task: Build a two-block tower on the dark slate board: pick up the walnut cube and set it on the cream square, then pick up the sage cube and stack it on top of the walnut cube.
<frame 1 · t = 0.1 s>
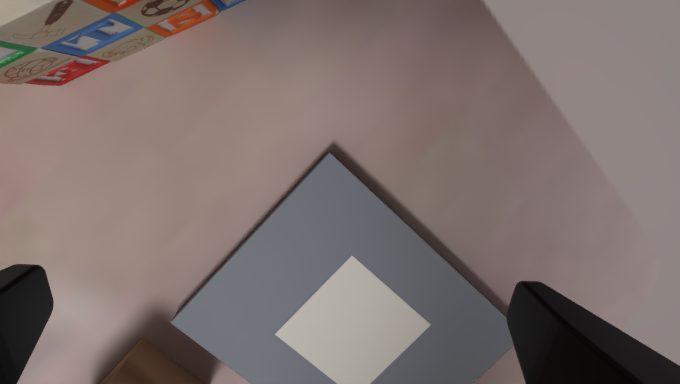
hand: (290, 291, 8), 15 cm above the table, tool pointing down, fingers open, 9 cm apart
blueprint board: (352, 320, 25), on the table
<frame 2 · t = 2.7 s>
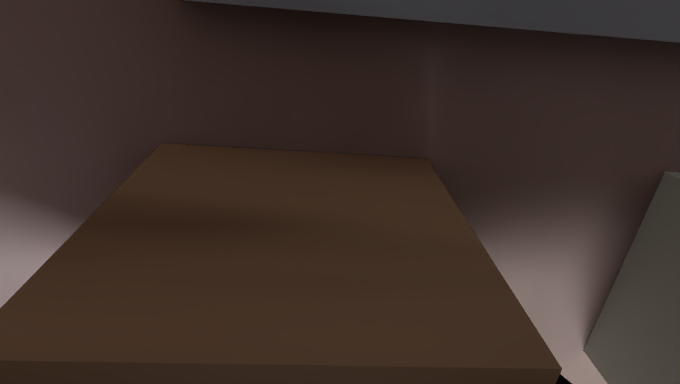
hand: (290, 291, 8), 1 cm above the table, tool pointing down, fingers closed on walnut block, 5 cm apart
walnut block: (293, 259, 9), on the table, touching gripper
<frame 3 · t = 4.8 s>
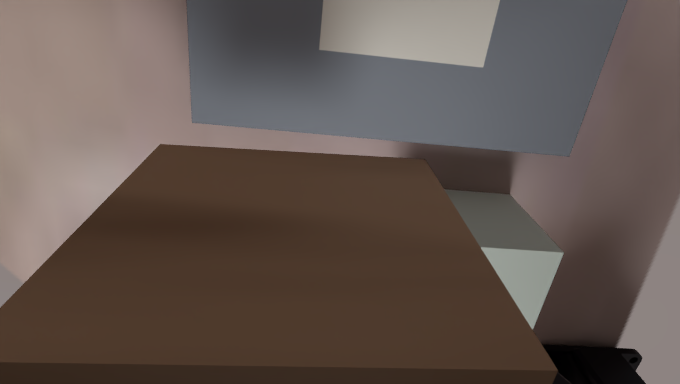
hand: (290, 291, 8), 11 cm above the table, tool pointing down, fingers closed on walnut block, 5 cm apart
walnut block: (292, 260, 9), point 10 cm above the table, touching gripper
sage block: (447, 234, 21), on the table
when the fingers open (3 cm above the table, at t = 7.0 s): walnut block drops 1 cm, resting on blueprint board.
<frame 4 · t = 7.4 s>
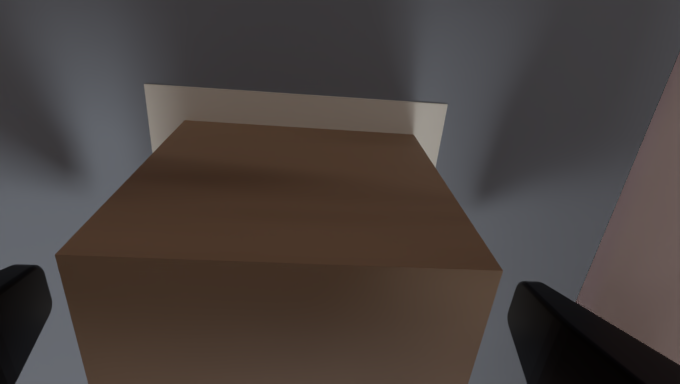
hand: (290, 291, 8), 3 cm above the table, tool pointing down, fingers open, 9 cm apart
walnut block: (297, 225, 10), point 1 cm above the table, touching blueprint board
blueprint board: (297, 204, 11), on the table
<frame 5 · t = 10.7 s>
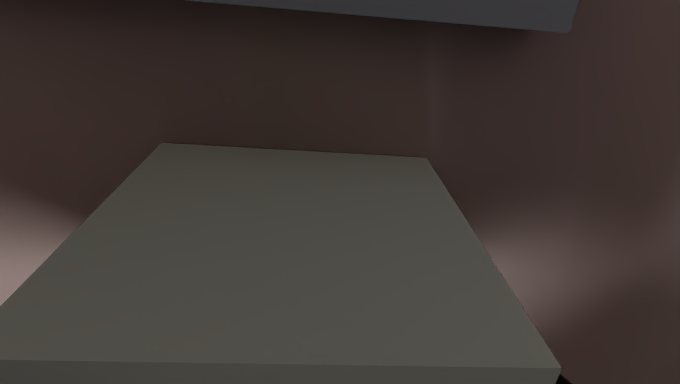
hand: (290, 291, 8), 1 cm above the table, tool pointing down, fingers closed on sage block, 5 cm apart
sage block: (293, 259, 9), on the table, touching gripper
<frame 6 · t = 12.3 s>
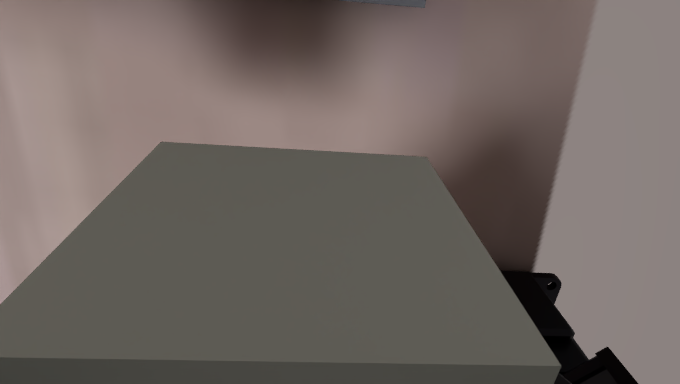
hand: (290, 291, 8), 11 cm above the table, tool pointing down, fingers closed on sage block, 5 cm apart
sage block: (293, 258, 9), point 9 cm above the table, touching gripper
when the fingers open (8 cm above the table, at t = 14.2 s): sage block drops 1 cm, resting on walnut block.
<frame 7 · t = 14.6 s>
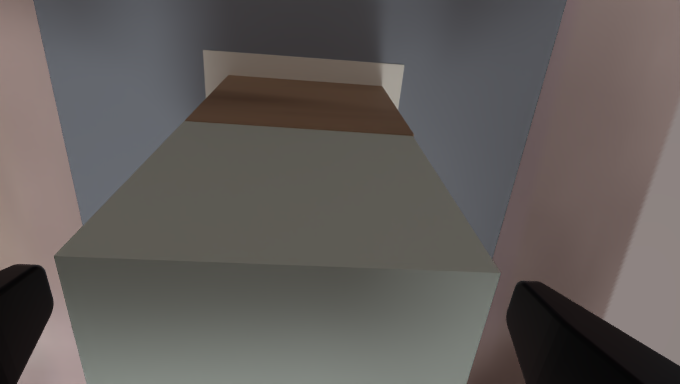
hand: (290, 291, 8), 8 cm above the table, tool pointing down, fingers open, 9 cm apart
walnut block: (303, 152, 15), point 1 cm above the table, touching blueprint board, sage block
blueprint board: (302, 141, 16), on the table
sage block: (296, 226, 10), point 6 cm above the table, touching walnut block
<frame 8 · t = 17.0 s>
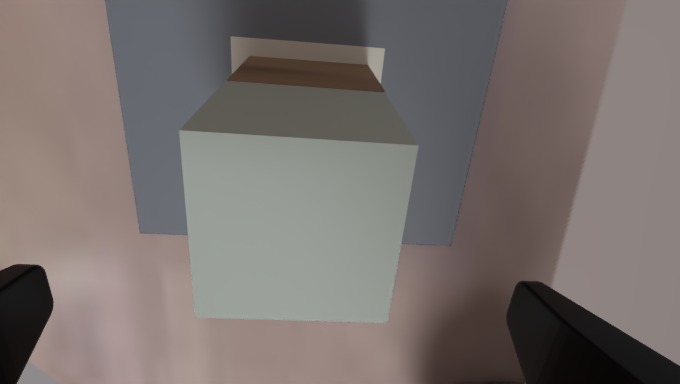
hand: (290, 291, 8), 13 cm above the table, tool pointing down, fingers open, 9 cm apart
walnut block: (306, 118, 19), point 1 cm above the table, touching blueprint board, sage block
blueprint board: (306, 111, 20), on the table
sage block: (302, 160, 14), point 6 cm above the table, touching walnut block
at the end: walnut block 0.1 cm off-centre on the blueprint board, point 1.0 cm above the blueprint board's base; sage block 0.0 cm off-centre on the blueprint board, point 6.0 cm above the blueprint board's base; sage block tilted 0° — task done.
